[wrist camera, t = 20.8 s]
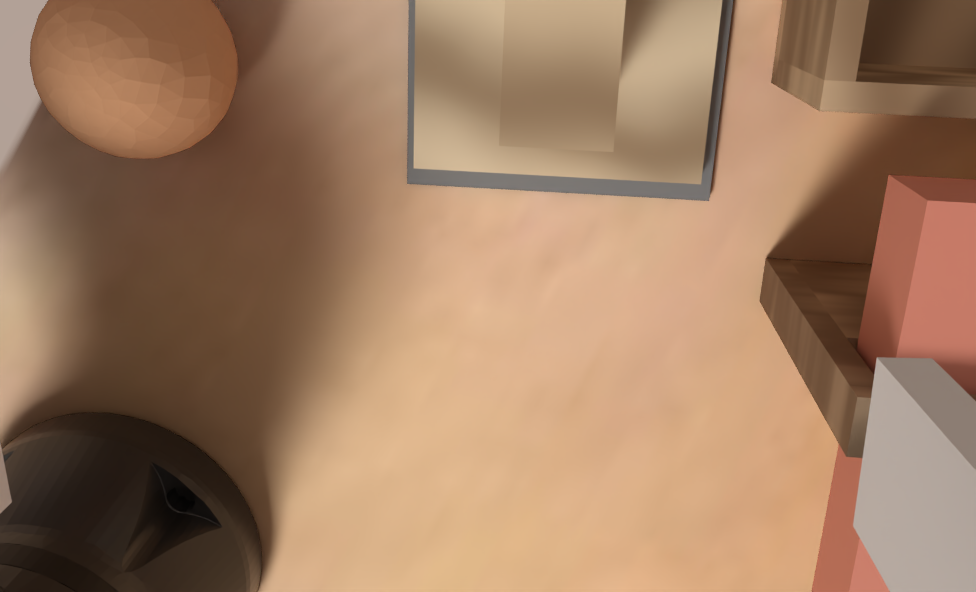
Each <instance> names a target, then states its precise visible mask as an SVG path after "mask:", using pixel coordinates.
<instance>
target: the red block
mask: <svg viewBox="0 0 976 592" xmlns="http://www.w3.org/2000/svg"><path fill="white" fill-rule="evenodd" d="M856 351H857V353H858V354H859V355H860V357H861V358H862V359H863V361H864V362H865V363H866V365H867V366H868V367H869V369H870V370H871V372H872V373H873V374H875V367H876V359H877V357H887V358H932V359H933V360H934V361H935V362H936V363H937V364H938V365H939V366H940V367H941V368H943V369H944V370H945V371H946V372H947V373H948V374H949V375H950V376H951V377H952V378H953V379H954V380H955V381H956V382H957V383H958V384H959V385H960V386H961V387H962V388H963V389H964V390H965V391H966V392H967V393H968V394H976V179H958V178H940V177H921V176H903V175H889V176H888V181H887V187H886V192H885V198H884V203H883V208H882V214H881V219H880V225H879V230H878V235H877V241H876V246H875V252H874V257H873V263H872V268H871V273H870V279H869V284H868V290H867V295H866V300H865V306H864V311H863V317H862V322H861V327H860V333H859V338H858V344H857V349H856ZM861 465H862V458H855V457H846V455H845V454H844V452H843V450H842V448H841V446H840V445H839V446H838V452H837V457H836V462H835V468H834V473H833V479H832V484H831V489H830V495H829V500H828V506H827V511H826V516H825V522H824V527H823V533H822V538H821V543H820V549H819V554H818V560H817V565H816V570H815V576H814V581H813V587H812V592H890V591H889V589H888V587H887V585H886V584H885V582H884V580H883V578H882V577H881V575H880V573H879V571H878V569H877V568H876V566H875V564H874V562H873V561H872V559H871V557H870V555H869V553H868V552H867V550H866V548H865V546H864V545H863V543H862V541H861V539H860V537H859V536H858V534H857V532H856V530H855V529H854V527H853V522H854V515H855V508H856V501H857V493H858V486H859V479H860V472H861Z"/></svg>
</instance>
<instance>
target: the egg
mask: <svg viewBox="0 0 976 592" xmlns="http://www.w3.org/2000/svg"><path fill="white" fill-rule="evenodd" d="M30 49H31V50H30V66H31V70H32V75H33V80H34V85H35V87H36V89H37V92H38V94H39V96H40V98H41V100H42V102H43V103H44V105H45V107H46V108H47V110H48V111H49V113H50V114H51V115H52V116H53V117H54V118H55V119H56V120H57V121H58V122H59V124H60V125H61V126H62V127H63V128H64V129H65V130H67V131H68V132H69V133H71V134H72V135H73V136H74V137H76V138H77V139H78V140H80V141H81V142H83V143H85V144H87V145H89V146H91V147H93V148H94V149H97V150H99V151H101V152H104V153H107V154H110V155H113V156H116V157H125V158H134V159H139V158H160V157H164V156H167V155H171V154H174V153H177V152H180V151H183V150H185V149H188V148H190V147H192V146H193V145H195V144H196V143H197V142H199V141H200V140H202V139H203V138H204V137H206V136H207V135H209V134H210V133H211V132H212V131H213V130H214V129H215V128H216V126H217V125H218V124H219V122H220V121H221V120H222V119H223V117H224V116H225V115H226V113H227V111H228V108H229V106H230V103H231V101H232V98H233V94H234V91H235V87H236V83H237V80H238V64H237V53H236V49H235V45H234V41H233V37H232V33H231V31H230V29H229V28H228V26H227V24H226V22H225V20H224V18H223V16H222V15H221V13H220V11H219V10H218V9H217V7H216V6H215V5H214V3H213V2H212V1H211V0H48V2H47V4H46V5H45V7H44V8H43V9H42V11H41V13H40V14H39V16H38V19H37V22H36V25H35V29H34V32H33V36H32V39H31V48H30Z"/></svg>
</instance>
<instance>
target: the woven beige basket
mask: <svg viewBox="0 0 976 592" xmlns="http://www.w3.org/2000/svg"><path fill="white" fill-rule="evenodd" d="M771 83H773V84H774V85H776V86H778V87H779V88H781V89H783V90H785V91H786V92H788V93H790V94H791V95H793V96H795V97H796V98H798V99H800V100H802V101H803V102H805V103H807V104H808V105H810V106H812V107H813V108H815V109H817V110H819V111H828V112H848V113H868V114H888V115H909V116H929V117H949V118H969V119H976V0H783V1H782V8H781V15H780V23H779V30H778V37H777V44H776V52H775V59H774V66H773V74H772V81H771ZM871 268H872V265H871V264H854V263H838V262H821V261H805V260H788V259H772V258H766V261H765V267H764V274H763V281H762V288H761V295H760V303H761V304H762V306H763V308H764V310H765V312H766V313H767V315H768V317H769V319H770V321H771V322H772V324H773V326H774V328H775V330H776V331H777V333H778V335H779V337H780V339H781V340H782V342H783V344H784V346H785V348H786V349H787V351H788V353H789V355H790V357H791V358H792V360H793V362H794V364H795V366H796V367H797V369H798V371H799V373H800V375H801V376H802V378H803V380H804V382H805V384H806V385H807V387H808V389H809V391H810V393H811V394H812V396H813V398H814V400H815V402H816V403H817V405H818V407H819V409H820V411H821V412H822V414H823V416H824V418H825V420H826V421H827V423H828V425H829V427H830V429H831V430H832V432H833V434H834V436H835V437H836V439H837V441H838V443H839V445H840V446H841V448H842V450H843V452H844V454H845V455H846V457H855V458H863V451H864V444H865V437H866V430H867V423H868V416H869V409H870V402H871V395H872V388H873V381H874V374H873V373H872V372H871V370H870V369H869V367H868V366H867V365H866V363H865V362H864V361H863V359H862V358H861V357H860V355H859V354H858V353H857V351H856V349H857V344H858V338H859V333H860V327H861V322H862V317H863V311H864V306H865V300H866V295H867V290H868V284H869V279H870V273H871ZM969 395H970V396H971V397H972V398H973V399H974V400H975V401H976V394H969Z"/></svg>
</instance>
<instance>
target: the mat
mask: <svg viewBox="0 0 976 592" xmlns="http://www.w3.org/2000/svg"><path fill="white" fill-rule="evenodd" d="M732 6H733V0H722V8H721V17H720V25H719V34H718V43H717V51H716V60H715V68H714V77H713V85H712V94H711V103H710V111H709V120H708V128H707V137H706V145H705V154H704V163H703V171H702V180H701V184H686V183H668V182H650V181H632V180H614V179H596V178H577V177H559V176H541V175H523V174H505V173H487V172H469V171H451V170H433V169H415V168H414V79H415V0H409V37H408V154H407V184H420V185H438V186H455V187H473V188H491V189H508V190H526V191H544V192H561V193H579V194H596V195H614V196H632V197H649V198H667V199H685V200H702V201H709V197H710V189H711V180H712V172H713V164H714V155H715V147H716V139H717V130H718V122H719V114H720V106H721V97H722V89H723V81H724V72H725V64H726V56H727V47H728V39H729V31H730V23H731V14H732Z"/></svg>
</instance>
